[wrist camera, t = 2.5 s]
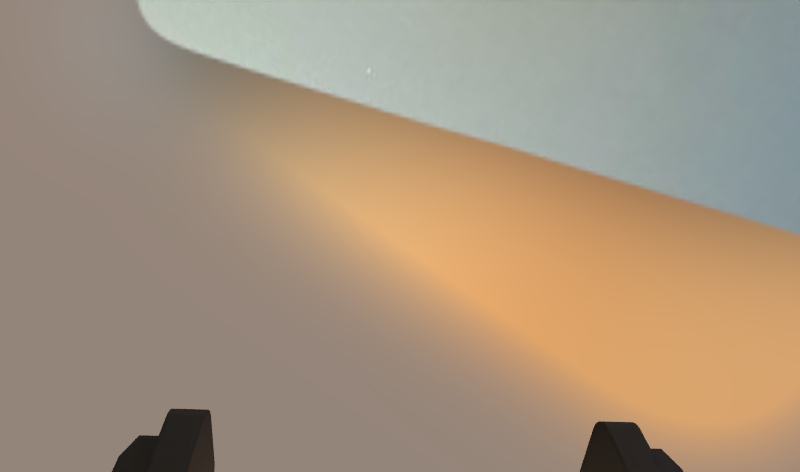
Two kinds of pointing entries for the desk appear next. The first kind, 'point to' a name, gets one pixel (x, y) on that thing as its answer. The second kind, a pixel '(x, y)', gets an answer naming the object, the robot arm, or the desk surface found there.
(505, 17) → the desk surface
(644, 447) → the robot arm
